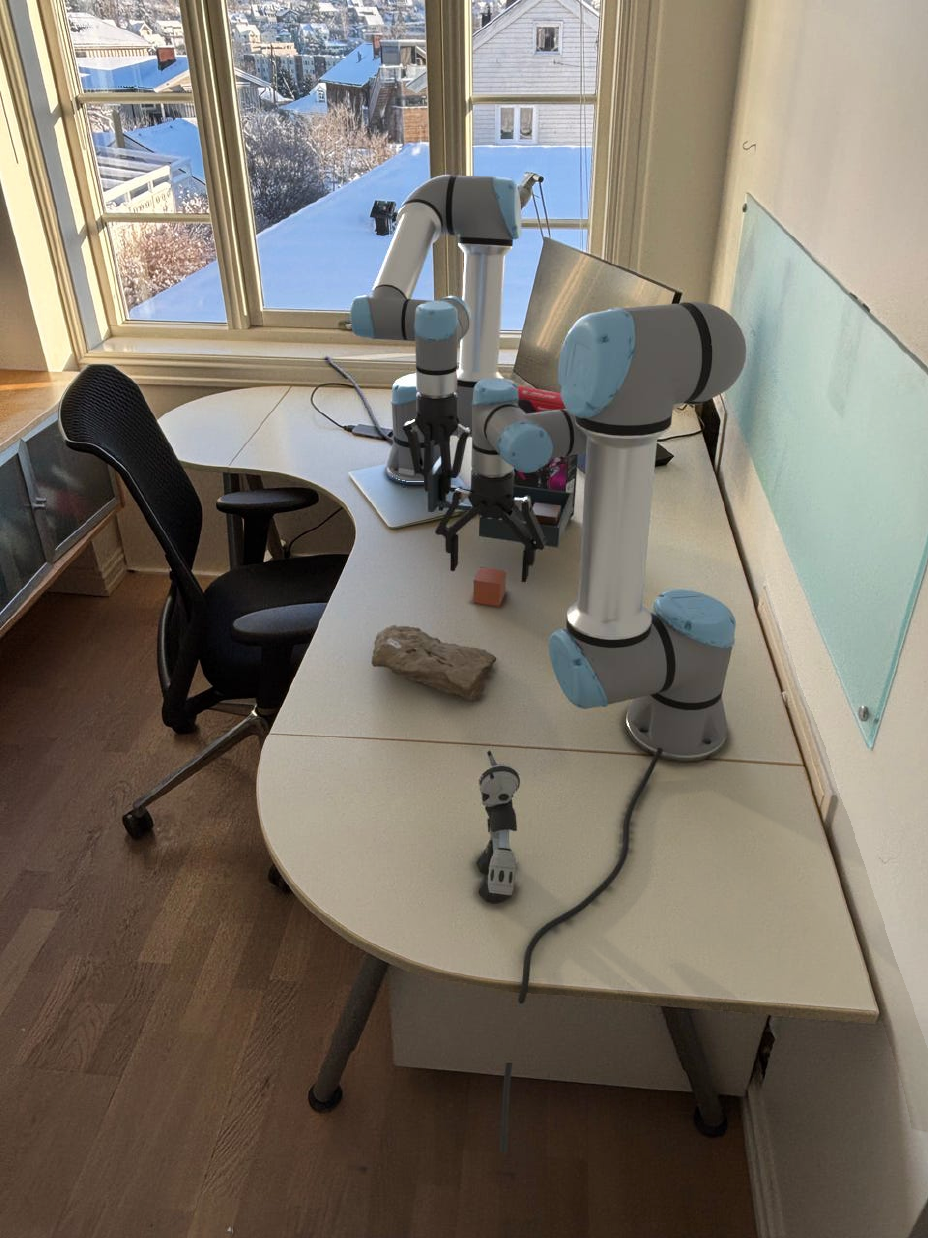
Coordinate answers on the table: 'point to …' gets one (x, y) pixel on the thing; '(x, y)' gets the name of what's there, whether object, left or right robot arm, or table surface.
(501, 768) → the robot
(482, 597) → the terracotta cube
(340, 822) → the table surface
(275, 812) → the table surface
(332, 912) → the table surface
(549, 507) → the walnut cube
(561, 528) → the tray
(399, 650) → the stone
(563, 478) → the graphics card box
